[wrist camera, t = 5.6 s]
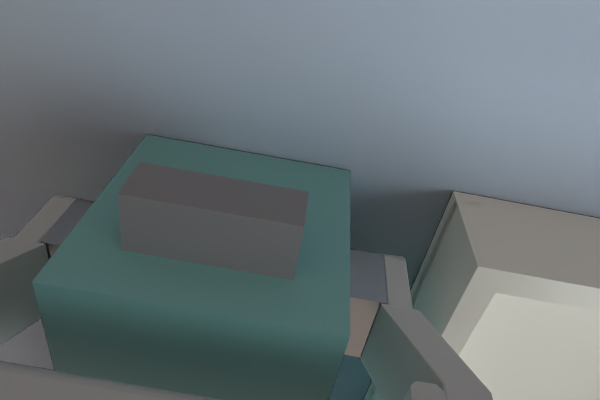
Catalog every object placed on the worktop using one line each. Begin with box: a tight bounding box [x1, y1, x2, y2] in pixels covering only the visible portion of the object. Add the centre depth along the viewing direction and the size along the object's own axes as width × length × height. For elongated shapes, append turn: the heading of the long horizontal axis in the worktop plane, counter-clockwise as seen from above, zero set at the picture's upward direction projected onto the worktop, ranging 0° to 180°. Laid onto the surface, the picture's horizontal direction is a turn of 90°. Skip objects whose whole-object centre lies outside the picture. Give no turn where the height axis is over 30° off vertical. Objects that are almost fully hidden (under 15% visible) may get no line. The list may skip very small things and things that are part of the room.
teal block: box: [32, 135, 350, 400], centre depth 12 cm, size 13×5×5 cm, turn 171°
